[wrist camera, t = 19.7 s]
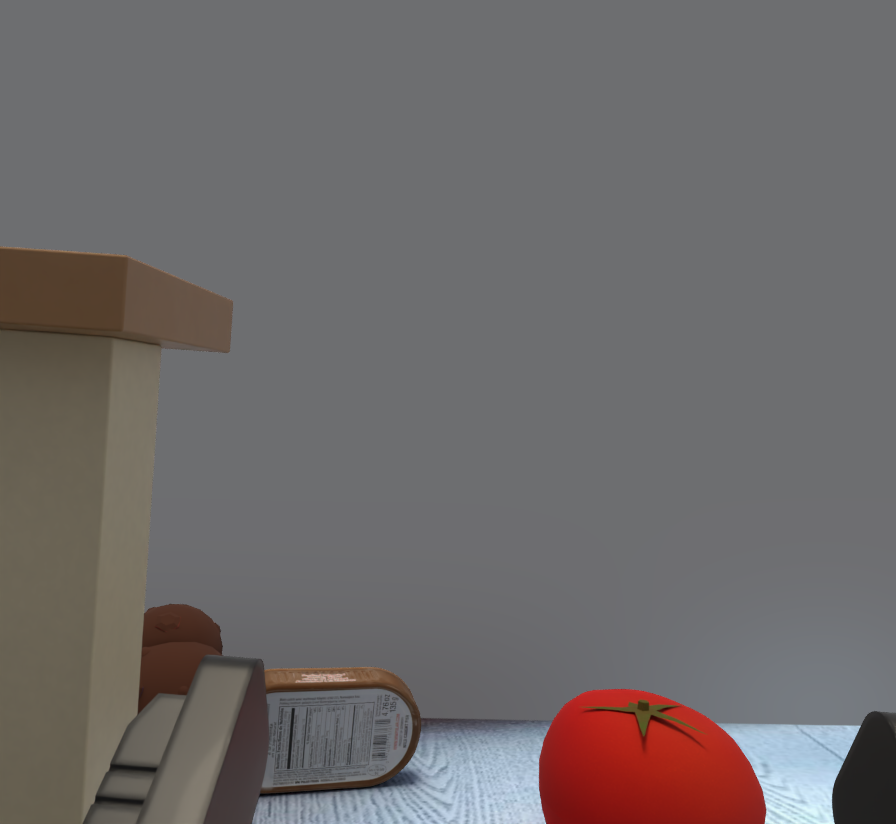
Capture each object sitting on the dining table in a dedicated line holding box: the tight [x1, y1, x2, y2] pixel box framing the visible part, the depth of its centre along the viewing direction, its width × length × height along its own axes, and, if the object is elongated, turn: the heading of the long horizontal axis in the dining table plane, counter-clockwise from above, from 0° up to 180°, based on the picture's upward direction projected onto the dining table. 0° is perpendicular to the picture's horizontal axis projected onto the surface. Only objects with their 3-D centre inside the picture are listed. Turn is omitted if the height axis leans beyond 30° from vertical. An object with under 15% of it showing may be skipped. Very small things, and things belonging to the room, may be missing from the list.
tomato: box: [539, 689, 766, 824], centre depth 52 cm, size 12×14×12 cm
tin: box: [260, 667, 421, 793], centre depth 61 cm, size 15×3×8 cm, turn 108°
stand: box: [0, 246, 233, 824], centre depth 27 cm, size 10×8×32 cm
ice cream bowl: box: [137, 604, 223, 715], centre depth 50 cm, size 11×11×15 cm
